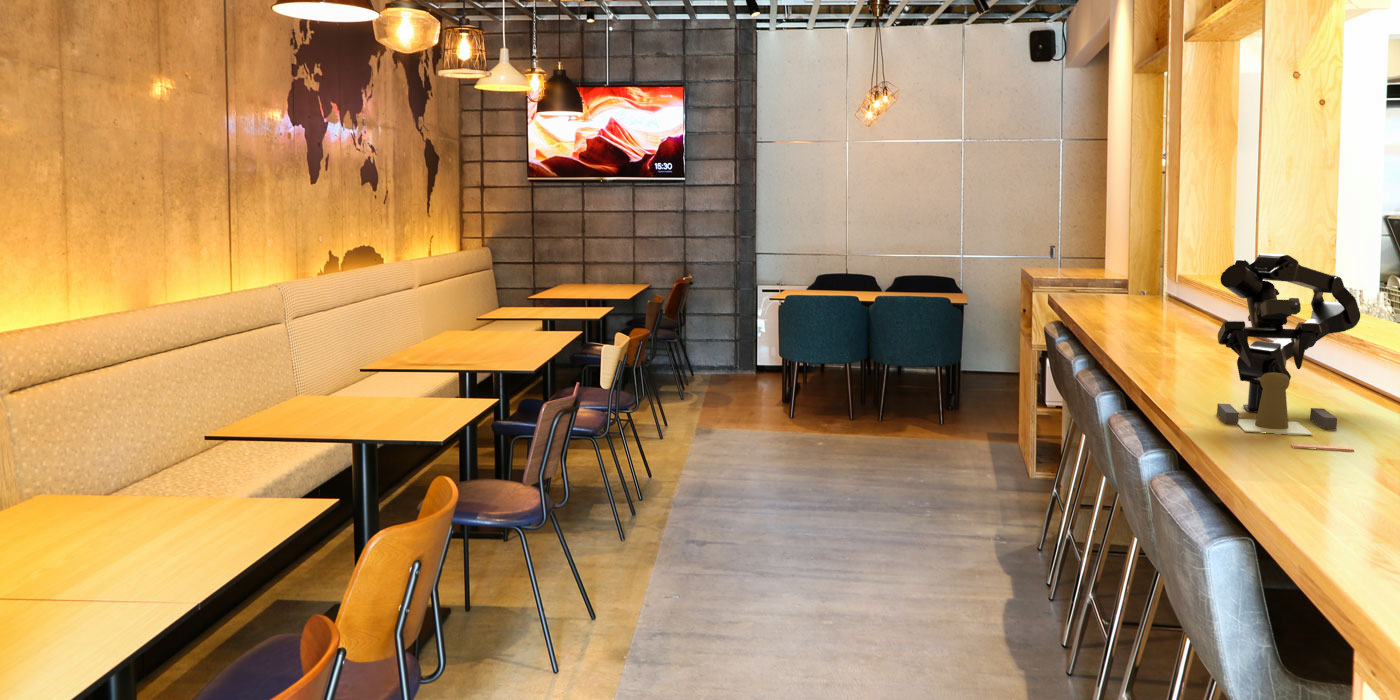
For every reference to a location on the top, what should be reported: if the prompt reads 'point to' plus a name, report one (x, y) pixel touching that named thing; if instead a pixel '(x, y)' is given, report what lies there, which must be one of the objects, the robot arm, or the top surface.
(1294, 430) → the pad
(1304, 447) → the off strip
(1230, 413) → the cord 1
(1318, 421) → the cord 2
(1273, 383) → the cork
